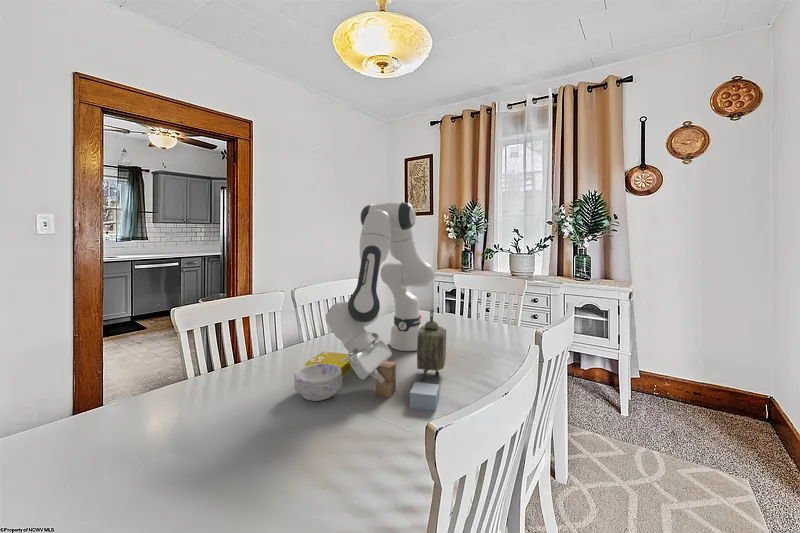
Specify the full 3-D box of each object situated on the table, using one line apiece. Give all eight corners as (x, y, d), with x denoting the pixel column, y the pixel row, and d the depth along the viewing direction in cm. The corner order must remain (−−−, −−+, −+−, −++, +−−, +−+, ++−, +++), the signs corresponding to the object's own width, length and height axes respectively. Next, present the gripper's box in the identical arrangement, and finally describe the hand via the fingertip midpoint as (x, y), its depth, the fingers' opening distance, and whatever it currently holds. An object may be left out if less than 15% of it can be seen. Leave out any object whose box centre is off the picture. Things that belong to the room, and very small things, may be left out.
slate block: (414, 396, 120) (414, 382, 120) (439, 399, 118) (439, 384, 118) (409, 408, 113) (409, 392, 112) (435, 411, 111) (435, 395, 110)
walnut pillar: (382, 388, 126) (382, 360, 124) (395, 391, 124) (395, 362, 123) (375, 395, 121) (375, 365, 120) (390, 397, 119) (390, 367, 118)
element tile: (339, 379, 134) (339, 367, 134) (303, 374, 138) (303, 362, 138) (356, 365, 148) (356, 353, 148) (323, 361, 153) (322, 349, 152)
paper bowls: (284, 401, 117) (284, 376, 116) (312, 382, 131) (311, 360, 130) (326, 409, 111) (326, 384, 110) (350, 388, 126) (350, 366, 125)
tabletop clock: (422, 367, 145) (423, 304, 143) (445, 369, 143) (446, 305, 141) (416, 382, 131) (417, 312, 129) (442, 384, 129) (443, 314, 127)
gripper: (351, 349, 113) (381, 384, 111) (379, 331, 132) (404, 361, 130) (339, 361, 115) (367, 396, 113) (368, 342, 134) (392, 372, 132)
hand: (387, 377), depth 122 cm, fingers closed on walnut pillar, 5 cm apart
